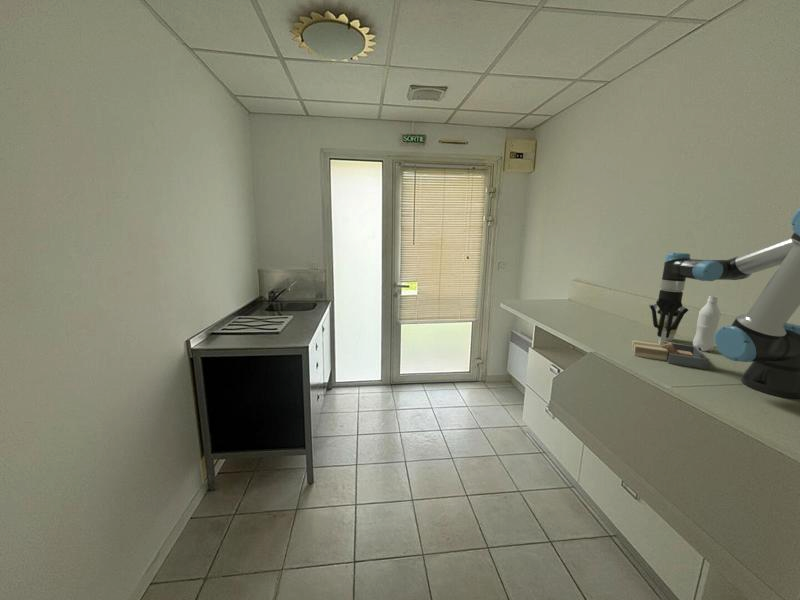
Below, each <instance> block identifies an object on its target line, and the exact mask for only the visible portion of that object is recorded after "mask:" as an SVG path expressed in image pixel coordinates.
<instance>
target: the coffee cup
mask: <svg viewBox="0 0 800 600" xmlns="http://www.w3.org/2000/svg"><path fill="white" fill-rule="evenodd" d="M679 312H680V309H678V310H677V311H675V312H674V315H673V320H672V325H673V323H674V321H675V319H676V317H677V316H678V314H679ZM656 314H657V323H658V325H659V321H660V315H661V310H660V309H658V310H656ZM667 319H668V312H666V315H665V320H664V326H663V329H666V325H667ZM672 325H671V326H672ZM678 328H679V326H678V327H677V329H676V330H671V331H670V334H669V337H668V338H666V339H665V342H672V341H673V340H674V339H675V335H676V333H677V331H678ZM657 333H658V328H656V338H657V339H658V340H659V339H660V337H658V335H657Z"/></svg>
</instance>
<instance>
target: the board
mask: <svg viewBox="0 0 800 600" xmlns="http://www.w3.org/2000/svg"><path fill="white" fill-rule="evenodd" d="M630 348H631V350H632V353H633V355H634V356H636V357H640V358H648V359H653V360H659V361H665V362H667V356H668V351H667V349H666V348H665V346H664V345H660V344H659V342H656V341H649V340H641V339H635V338H632V341H631V347H630Z"/></svg>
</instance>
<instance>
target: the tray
mask: <svg viewBox="0 0 800 600" xmlns="http://www.w3.org/2000/svg"><path fill="white" fill-rule="evenodd" d="M667 343H671V344H672V345H673V347H674V349H675V351H677V350H681V351H688V352H691V353H692V354H693V357H691V356H684V355H678V354H671V353H669V354H668V356H667V361H666V362H667V364H670V365H677V366H683V367H688V368H696V369H700V370H701V369H702V370H707V369H708V366H709V363H710V362H709V361H710V359H708V357H707V356H706V355H705V354H704V353H703V351H702V350H700V349H698V348H697V347H696V346H693V345H689V344H681V343H674V342H670V341H665V344H667Z"/></svg>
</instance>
